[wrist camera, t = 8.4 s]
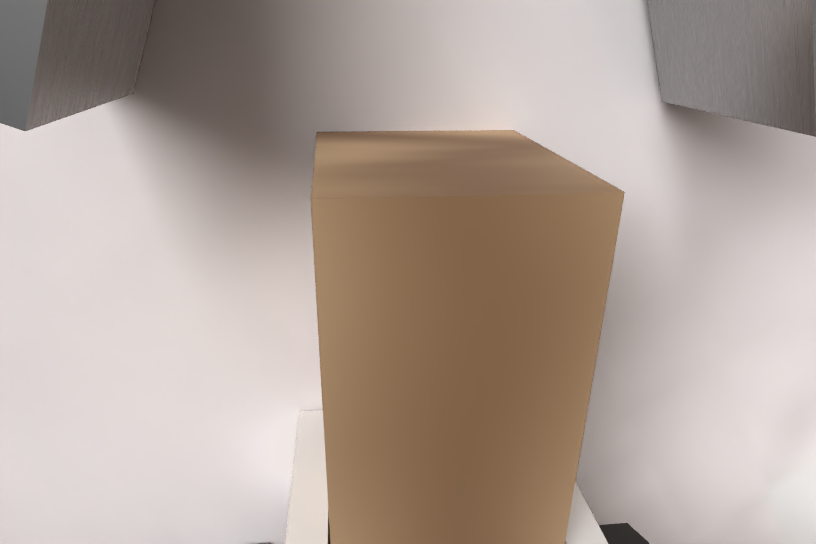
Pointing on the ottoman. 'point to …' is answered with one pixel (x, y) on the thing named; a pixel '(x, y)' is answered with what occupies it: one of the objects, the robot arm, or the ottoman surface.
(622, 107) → the ottoman surface
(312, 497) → the robot arm
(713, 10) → the cap
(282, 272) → the ottoman surface
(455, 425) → the slat
